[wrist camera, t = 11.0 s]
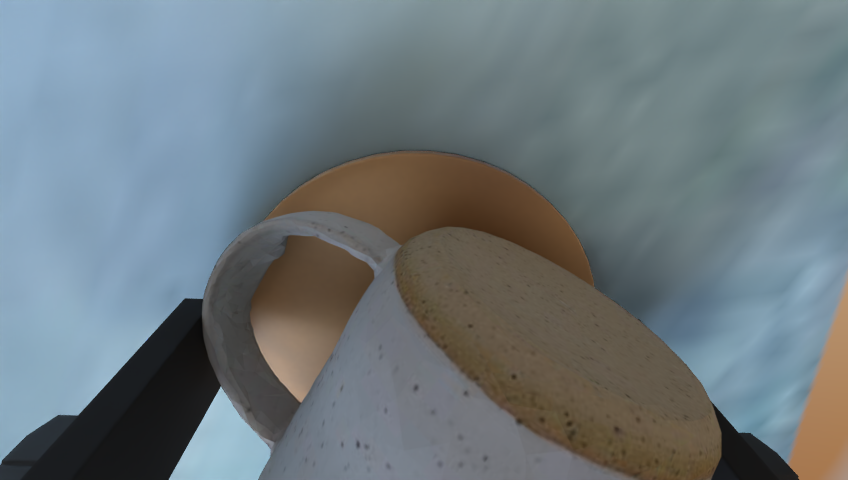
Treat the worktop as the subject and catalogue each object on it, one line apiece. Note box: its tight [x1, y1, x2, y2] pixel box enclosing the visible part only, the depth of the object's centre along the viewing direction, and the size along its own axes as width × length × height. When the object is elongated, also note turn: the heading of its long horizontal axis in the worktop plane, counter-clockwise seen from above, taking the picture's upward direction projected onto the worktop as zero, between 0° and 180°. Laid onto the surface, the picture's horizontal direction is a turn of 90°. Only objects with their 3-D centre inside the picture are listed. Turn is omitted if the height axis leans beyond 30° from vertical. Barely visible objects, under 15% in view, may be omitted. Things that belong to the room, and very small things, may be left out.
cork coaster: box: [250, 151, 594, 403], centre depth 13 cm, size 11×11×1 cm
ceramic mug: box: [202, 211, 722, 480], centre depth 9 cm, size 11×8×8 cm
